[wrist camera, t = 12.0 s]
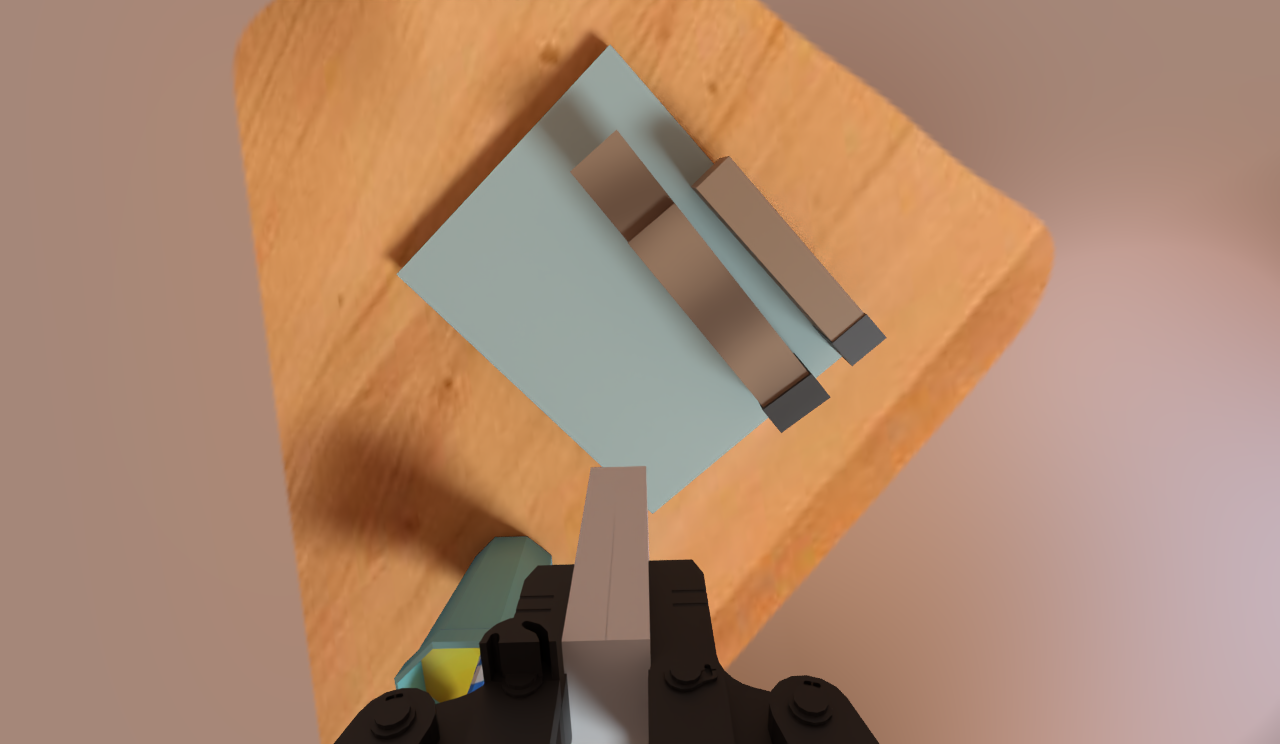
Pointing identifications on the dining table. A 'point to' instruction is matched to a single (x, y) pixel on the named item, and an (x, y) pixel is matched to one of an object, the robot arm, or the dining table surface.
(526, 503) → the dining table surface
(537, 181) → the stool seat
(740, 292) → the leg
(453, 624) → the cup
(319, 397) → the dining table surface
